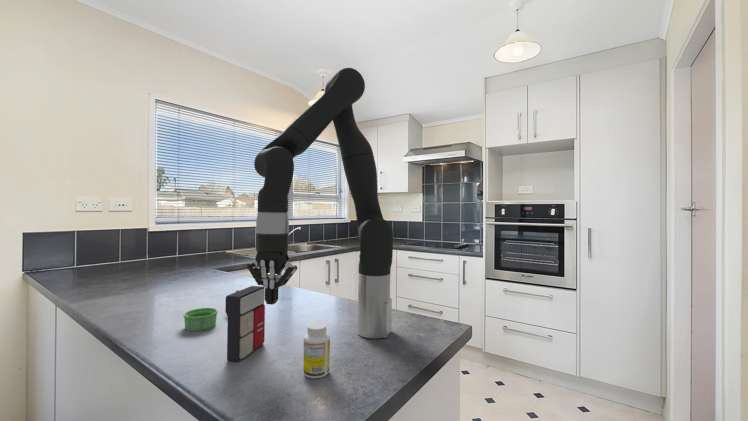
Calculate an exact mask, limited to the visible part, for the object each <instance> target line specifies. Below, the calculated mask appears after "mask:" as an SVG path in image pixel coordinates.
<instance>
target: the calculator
mask: <svg viewBox="0 0 748 421" xmlns="http://www.w3.org/2000/svg"><path fill="white" fill-rule="evenodd" d="M224 310H225V313H226V317H227V326H226V327H227V332H226V334H227V336H226V337H227V342H226V345H227V347H226V360H227V361H230V362H238V363H239V362H241V360H244V358H246V357H247V356H248V355H250V354H251V353H252V352H253V351H255V350H256V349H258V348H259V347H260V346H262V345H263V344H264V343H265V333H266V332H265V330H266V329H265V328H266V326H265V324H266V322H265V319H266V317H265V316H266V305H265V288H264V286H262V285H250V286H248V287H245V288H242V289H239V291H238V292H236V291H235V292H233V293H232V292H231V293H230V294H228V295H226V296H225V309H224Z"/></svg>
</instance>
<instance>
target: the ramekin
mask: <svg viewBox="0 0 748 421" xmlns="http://www.w3.org/2000/svg"><path fill="white" fill-rule="evenodd" d="M217 315H218V309H217V308H213V307H200V308H195V309H191V310H188V311H185V312H184V313H183V318H184V329H185V330H186V331H189V332H201V331H207V330H210V329H212V328H214V327H215V326H216V324H217Z"/></svg>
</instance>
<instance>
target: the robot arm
mask: <svg viewBox="0 0 748 421" xmlns="http://www.w3.org/2000/svg"><path fill="white" fill-rule="evenodd" d="M365 88H366V83H365V79H364V76H363V75H362V73H360V72H359V70H357V69H355V68H353V67H344V68H342V69H340V70H338V71H337V72H335V73H334V75H333V76H331V77H330V78H329V79H328V81H326V83H325V85H324V90H323V91H324V94H323V95H321V97H319V98H318V99H317V100H316V101H315V102H314V103H313V104H311V105H309V107H308V108H306V110H305V111H303V112H302V113H301V114H300V115H298V116H297V117H296V118H295V119H294V121H292V122H291V123H290V124H289V125H288V126H287V127H286V129H284V131H283V132H282V133H281V134H279V135H278V136H277V137H276V138H275V139H273V140H272V141H270V142H269V143H268V144H266V145H265V146H264V147H263V148H262V149H261V150H260V151H259V152H258V153H257V154H256V155H255V158H254V160H253V162H254V163H253V164H254V170H255V171H256V173H257V174H258V175H260V177H263V178H264V182H263V187H261V189H259V190H258V192H257V193H258V194H257V215H256V222H255V228H256V229H255V251H256V255H255V258H254V260H253V261H252V262H251V263H247V265H246V268H247V269H248V271H249V272H250V274H251V276H252V277H253V279H254V281H255V283H256V284H257V286H261V287H264V289H265V294H264V302H265V303H266V305H270V306H271V305H274V304H276V303H277V302H278V301H279V290H280V289H279V288H281V287H282V286H286V285H287V283H288V282H289V281H290V279H291V278H292V276H293V275H294V274H295V273H296V271H297V270H298V265H293V264H292V263H291V262H290V257H289V254H288V250H289V245H290V243H289V240H290V238H289V237H290V236H289V235H290V234H289V233H290V220H289V192H290V190H291V186H292V182H293V176H294V172H295V162H294V158H295V157H297V156H300V155H302V154H304V153H305V152H306V151H307V150H308V148H309V147H311V145H312V144H313V143H314V142H315V141H316V140H317V139H318V137H320V136H321V134H322V133H323V132H324V131H325V130H326V129H327V127H328V126H329V125H330V124H331V123H332V124H333V126H334V130H335V135H336V138H337V142H338V147H339V152H340V158H341V160H342V161H341V162H342V167H343V171H344V174H345V178H346V182H347V185H348V189H349V192H350V195H351V198H352V200H353V204H354V209H355V217H356V226H357V234H358V235H357V236H358V239H359V242H360V244H359V260H358V262H359V263H358V272H357V273H358V275H357V276H358V279H357V282H358V285H357V335H359V336H361V337H362V338H366V339H375V340H376V339H388V336H390V334H391V332H392V324H393V323H392V322H393V321H392V317H393V316H392V315H393V314H392V312H393V310H392V308H393V299H392V298H391V268H392V264H393V253H394V252H393V251H394V234H393V228H392V226H391V224H390V223H389V222H388V220H386V219H385V218H384V216H383V213H382V210H381V206H380V203H379V202H380V201H379V194H378V193H379V192H378V171H377V166H376V165H377V164H376V160H375V155H374V152H373V148H372V146H371V144H370V142H369V140H368V139H367V138H366V137H365V135H364V134H363V133H362V131H361V130H360V129H359V127H358V125H357V122H356V119H355V115H354V110H353V105H354V104H355V103H356V102H357V101H358V100H360V99H361V98H362V96H364V93H365V90H366V89H365ZM283 270H284V272H283Z"/></svg>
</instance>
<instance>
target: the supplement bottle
mask: <svg viewBox="0 0 748 421" xmlns="http://www.w3.org/2000/svg"><path fill="white" fill-rule="evenodd" d="M330 336H331V335H330V334H329V332H327V324H325V323H322V322H313V323H310V324H308V325H307V333H306V334H304V336H303V374H304V376H306V377H307V378H308V379H309V378H310V379H320V378H324V377H325V376H327V375H328V374H329V372H330V368H331V367H330V361H331V360H330V354H331V352H330V349H331V345H330V344H331V337H330Z"/></svg>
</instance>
